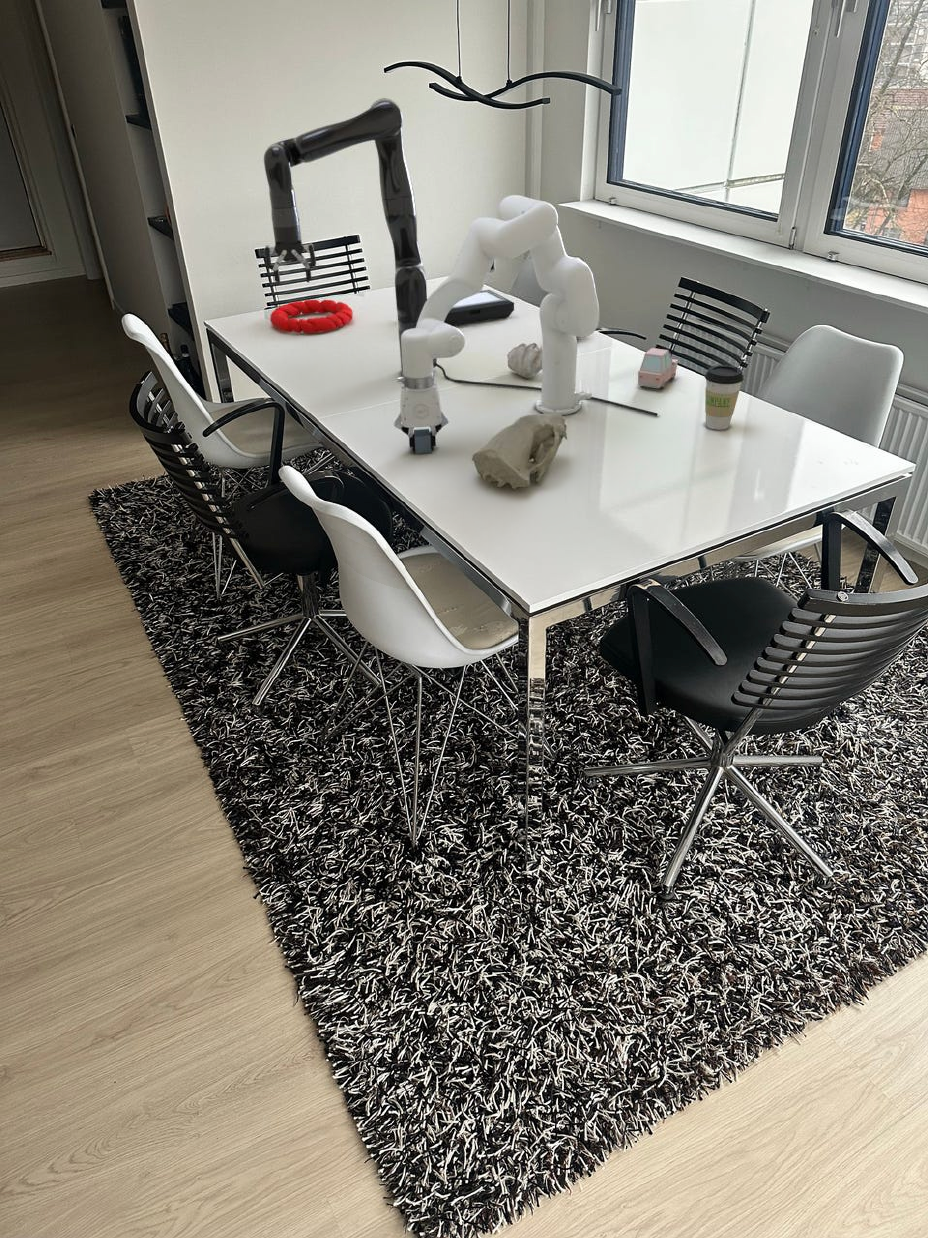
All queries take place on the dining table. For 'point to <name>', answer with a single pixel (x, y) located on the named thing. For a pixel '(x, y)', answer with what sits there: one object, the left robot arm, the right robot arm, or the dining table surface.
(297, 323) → the decorative ring
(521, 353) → the seashell
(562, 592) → the dining table surface
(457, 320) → the electronic device
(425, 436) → the block
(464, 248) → the right robot arm
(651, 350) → the toy car
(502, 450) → the animal skull
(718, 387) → the coffee cup
